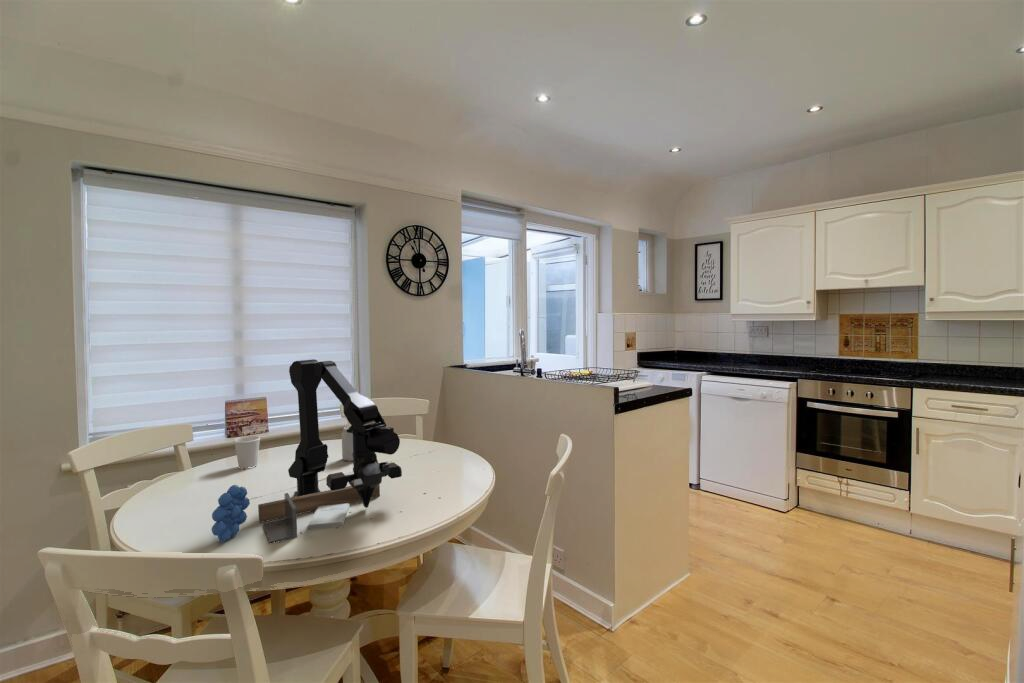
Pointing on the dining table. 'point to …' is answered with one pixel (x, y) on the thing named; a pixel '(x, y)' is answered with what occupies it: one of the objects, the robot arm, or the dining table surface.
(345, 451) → the can
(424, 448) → the dining table surface
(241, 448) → the dixie cup
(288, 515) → the bookend
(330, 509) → the external hard drive
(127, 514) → the dining table surface
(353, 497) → the rail
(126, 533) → the dining table surface
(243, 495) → the grapes
